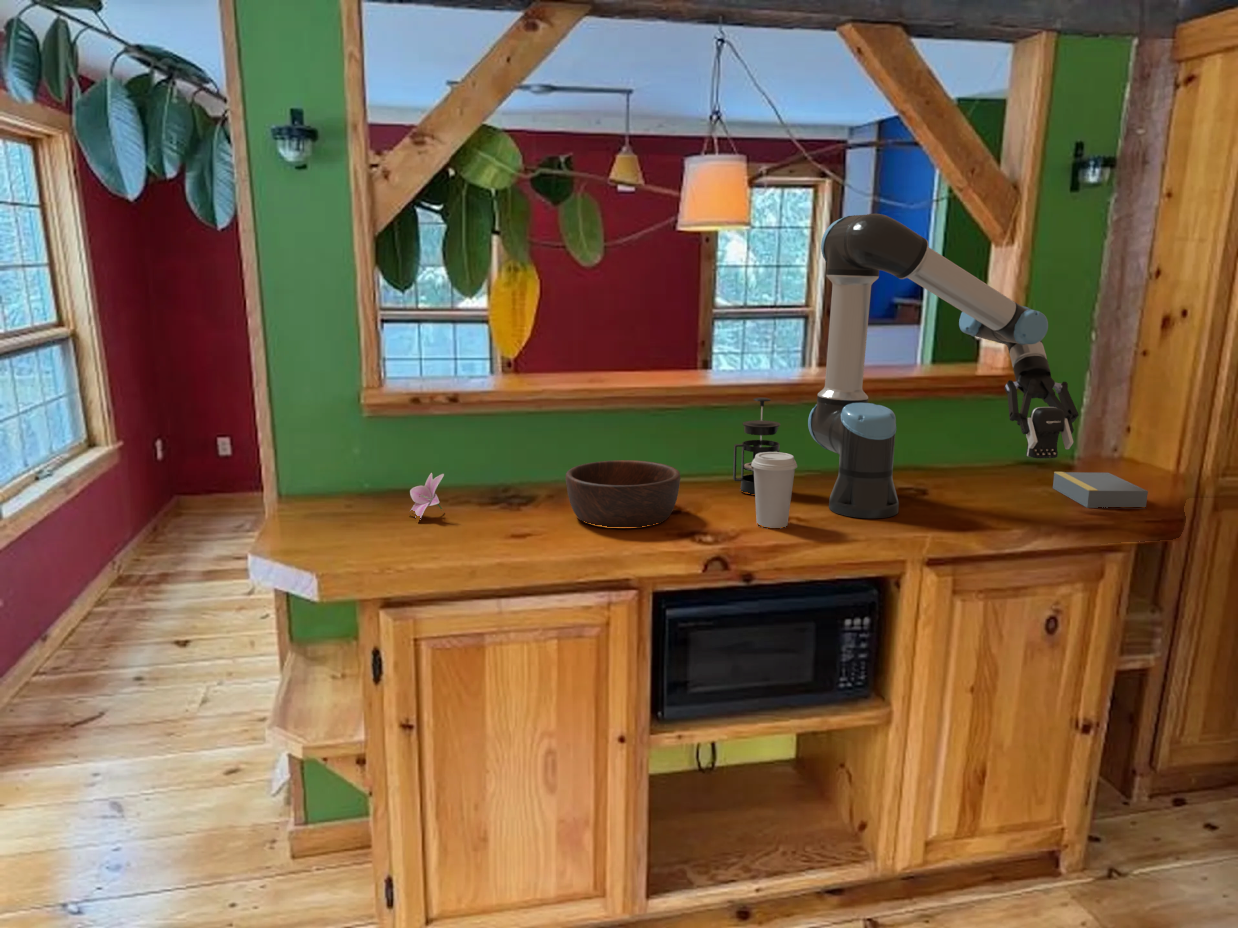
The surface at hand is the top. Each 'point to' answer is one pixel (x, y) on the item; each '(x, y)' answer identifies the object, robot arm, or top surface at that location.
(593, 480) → the wooden bowl
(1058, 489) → the dock
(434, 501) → the lily
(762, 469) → the coffee cup
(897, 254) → the robot arm
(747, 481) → the french press
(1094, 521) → the top surface
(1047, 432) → the battery charger
